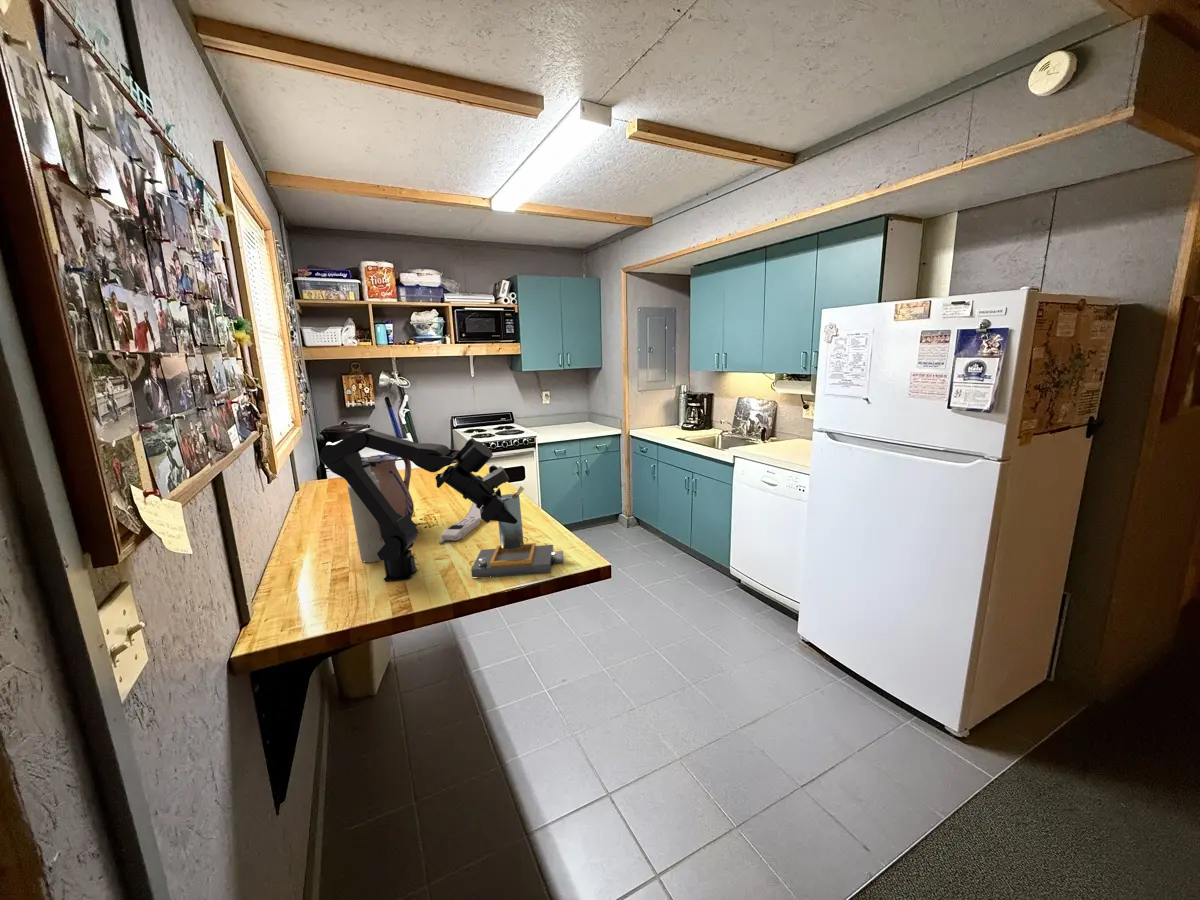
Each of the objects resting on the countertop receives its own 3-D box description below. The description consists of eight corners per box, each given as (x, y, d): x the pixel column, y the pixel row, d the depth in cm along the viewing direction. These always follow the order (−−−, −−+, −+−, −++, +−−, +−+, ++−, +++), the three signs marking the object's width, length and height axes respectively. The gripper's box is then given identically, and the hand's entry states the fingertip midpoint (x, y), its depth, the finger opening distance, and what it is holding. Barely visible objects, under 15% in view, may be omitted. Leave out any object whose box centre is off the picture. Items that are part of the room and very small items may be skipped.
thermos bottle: (396, 551, 140) (381, 460, 134) (379, 563, 133) (362, 467, 127) (373, 550, 142) (357, 460, 136) (354, 562, 134) (336, 467, 128)
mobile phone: (489, 500, 165) (451, 527, 141) (491, 516, 166) (454, 545, 142) (474, 500, 166) (434, 526, 143) (476, 516, 168) (436, 545, 144)
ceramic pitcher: (346, 540, 152) (332, 464, 146) (392, 516, 171) (381, 449, 166) (392, 543, 146) (378, 465, 141) (434, 519, 166) (423, 449, 161)
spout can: (501, 550, 122) (495, 492, 118) (499, 542, 127) (493, 486, 124) (530, 545, 124) (525, 488, 120) (527, 537, 129) (522, 482, 126)
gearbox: (472, 578, 120) (470, 564, 120) (482, 558, 132) (480, 544, 131) (562, 572, 121) (561, 557, 120) (564, 552, 133) (563, 538, 132)
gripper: (490, 467, 110) (540, 505, 116) (485, 451, 128) (529, 485, 133) (459, 504, 110) (511, 540, 115) (458, 483, 127) (503, 516, 133)
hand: (514, 518), depth 124 cm, fingers closed on spout can, 6 cm apart
